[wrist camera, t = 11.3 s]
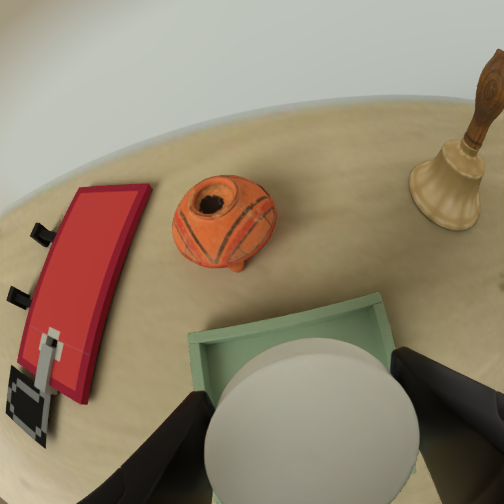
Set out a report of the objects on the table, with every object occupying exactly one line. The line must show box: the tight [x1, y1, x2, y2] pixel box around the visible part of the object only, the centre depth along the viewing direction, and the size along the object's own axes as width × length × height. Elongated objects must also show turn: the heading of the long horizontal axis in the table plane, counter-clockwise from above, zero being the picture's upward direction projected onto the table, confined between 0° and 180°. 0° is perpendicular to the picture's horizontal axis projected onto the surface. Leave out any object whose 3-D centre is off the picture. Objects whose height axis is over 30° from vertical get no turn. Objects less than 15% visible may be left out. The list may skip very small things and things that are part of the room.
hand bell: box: [409, 49, 504, 230], centre depth 15 cm, size 8×8×16 cm
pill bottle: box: [204, 338, 419, 504], centre depth 8 cm, size 5×5×10 cm
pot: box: [172, 175, 277, 272], centre depth 21 cm, size 8×8×7 cm
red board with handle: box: [6, 184, 152, 449], centre depth 23 cm, size 30×3×15 cm
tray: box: [188, 292, 416, 504], centre depth 16 cm, size 14×14×2 cm
